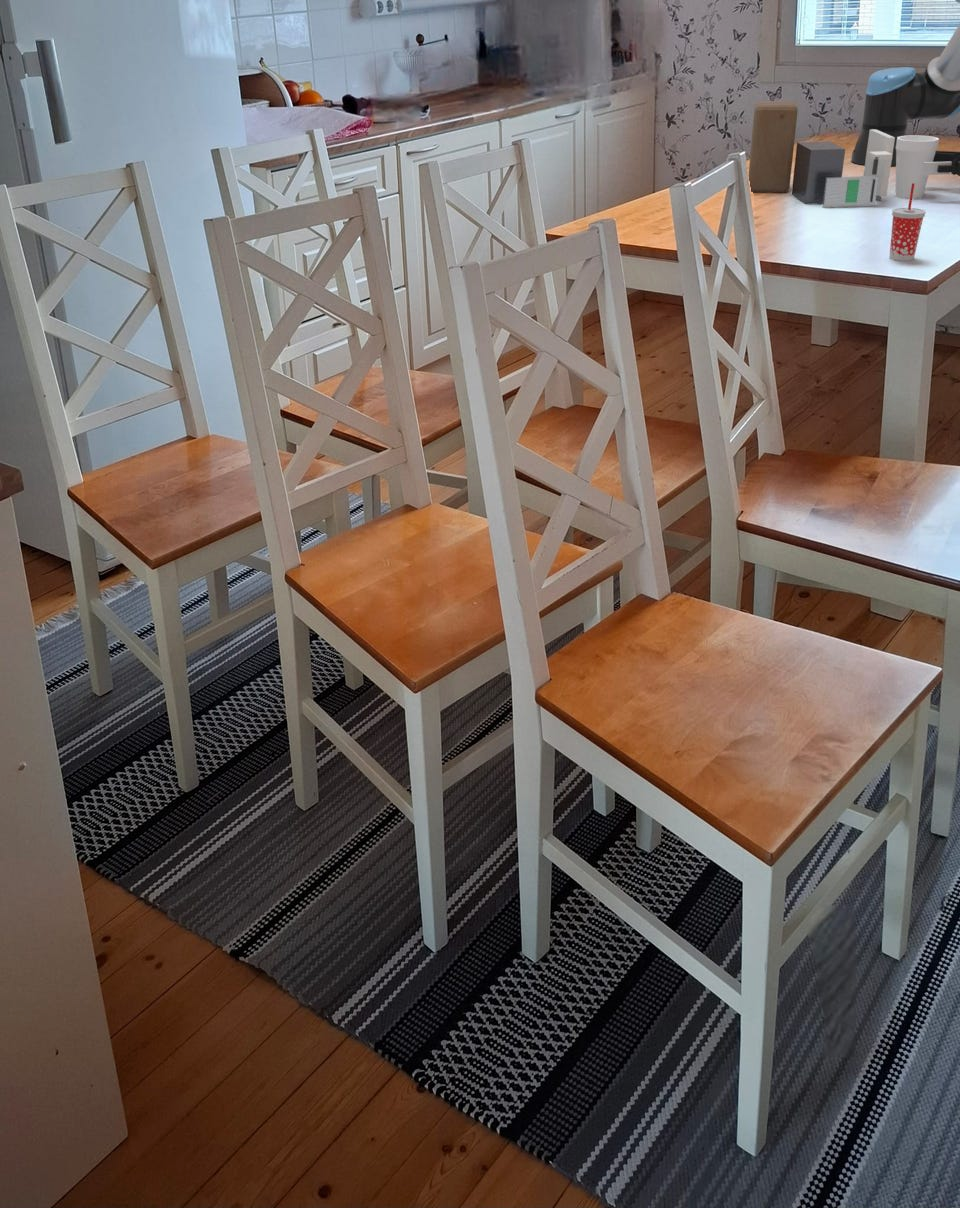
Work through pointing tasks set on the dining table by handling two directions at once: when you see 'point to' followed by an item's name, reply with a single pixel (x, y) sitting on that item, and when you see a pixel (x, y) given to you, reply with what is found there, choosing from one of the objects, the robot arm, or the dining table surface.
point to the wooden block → (772, 146)
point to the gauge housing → (829, 178)
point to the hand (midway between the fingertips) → (911, 163)
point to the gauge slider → (879, 158)
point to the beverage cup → (905, 231)
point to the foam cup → (913, 163)
